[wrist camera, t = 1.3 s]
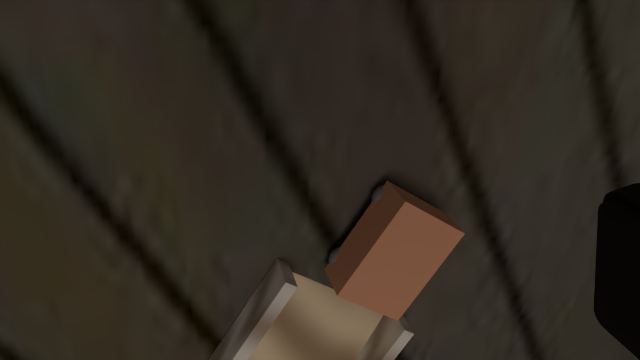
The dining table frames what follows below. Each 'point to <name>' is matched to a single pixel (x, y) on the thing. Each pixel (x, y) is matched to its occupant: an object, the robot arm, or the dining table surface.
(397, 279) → the brown rectangular block
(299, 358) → the dock
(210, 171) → the dining table surface
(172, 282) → the dining table surface
